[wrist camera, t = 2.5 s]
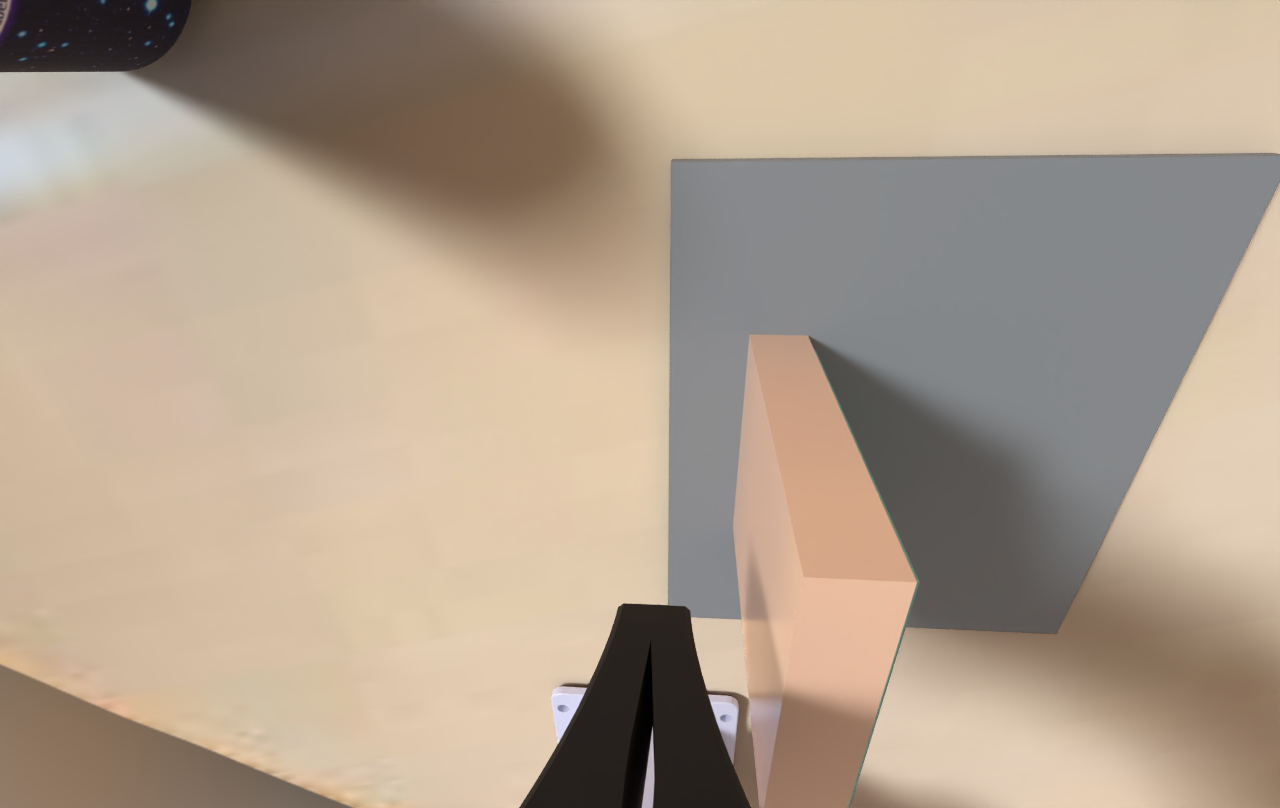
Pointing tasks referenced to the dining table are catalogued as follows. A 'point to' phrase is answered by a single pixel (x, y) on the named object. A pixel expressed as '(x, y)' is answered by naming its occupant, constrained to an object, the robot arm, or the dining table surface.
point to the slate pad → (951, 348)
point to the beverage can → (87, 34)
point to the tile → (812, 580)
